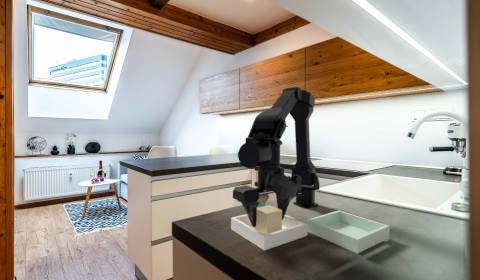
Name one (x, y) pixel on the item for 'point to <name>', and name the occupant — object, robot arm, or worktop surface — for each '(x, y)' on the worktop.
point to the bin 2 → (349, 230)
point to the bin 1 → (289, 232)
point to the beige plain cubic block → (268, 219)
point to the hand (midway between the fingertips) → (268, 222)
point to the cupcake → (262, 200)
